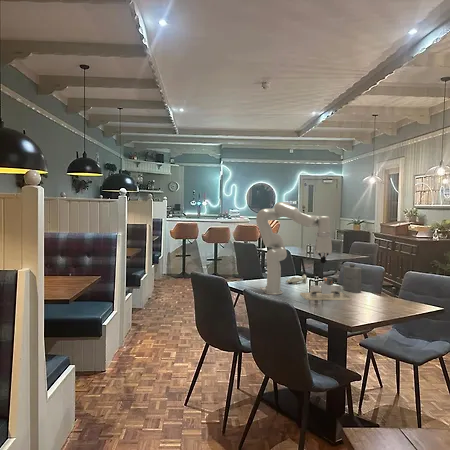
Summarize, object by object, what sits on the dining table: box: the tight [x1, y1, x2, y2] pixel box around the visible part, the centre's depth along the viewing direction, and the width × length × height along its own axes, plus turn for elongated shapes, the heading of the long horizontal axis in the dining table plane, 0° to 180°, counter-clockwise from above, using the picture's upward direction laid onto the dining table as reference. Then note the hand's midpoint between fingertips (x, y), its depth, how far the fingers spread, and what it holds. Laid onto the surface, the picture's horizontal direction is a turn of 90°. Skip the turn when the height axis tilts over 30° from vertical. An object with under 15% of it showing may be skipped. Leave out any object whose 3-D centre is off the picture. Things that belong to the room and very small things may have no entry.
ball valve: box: [299, 280, 352, 301], centre depth 289 cm, size 30×16×12 cm, turn 93°
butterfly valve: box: [285, 257, 308, 285], centre depth 340 cm, size 9×20×17 cm
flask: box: [342, 263, 363, 294], centre depth 312 cm, size 15×6×20 cm, turn 32°
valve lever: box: [322, 277, 334, 286], centre depth 284 cm, size 14×3×4 cm, turn 3°
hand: (323, 263), depth 278 cm, fingers closed
